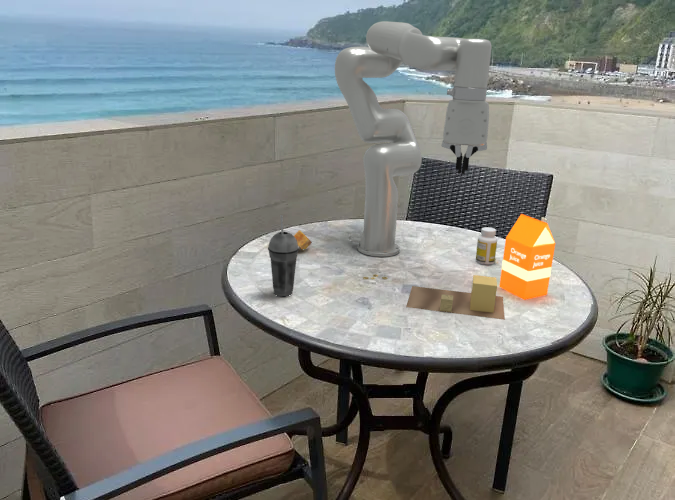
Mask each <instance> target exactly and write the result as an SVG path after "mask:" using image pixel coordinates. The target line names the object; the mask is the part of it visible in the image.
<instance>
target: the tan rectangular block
mask: <svg viewBox="0 0 675 500" xmlns="http://www.w3.org/2000/svg"><path fill="white" fill-rule="evenodd" d="M472 277H473V278H472V285H471V292H470V293H471V300H470V310H475V311H483V312H492V313H494V305H495V298H496V296H497V290H498V289H497V288H498V281H497V277H493V276H485V275H476V274H473V276H472Z"/></svg>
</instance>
